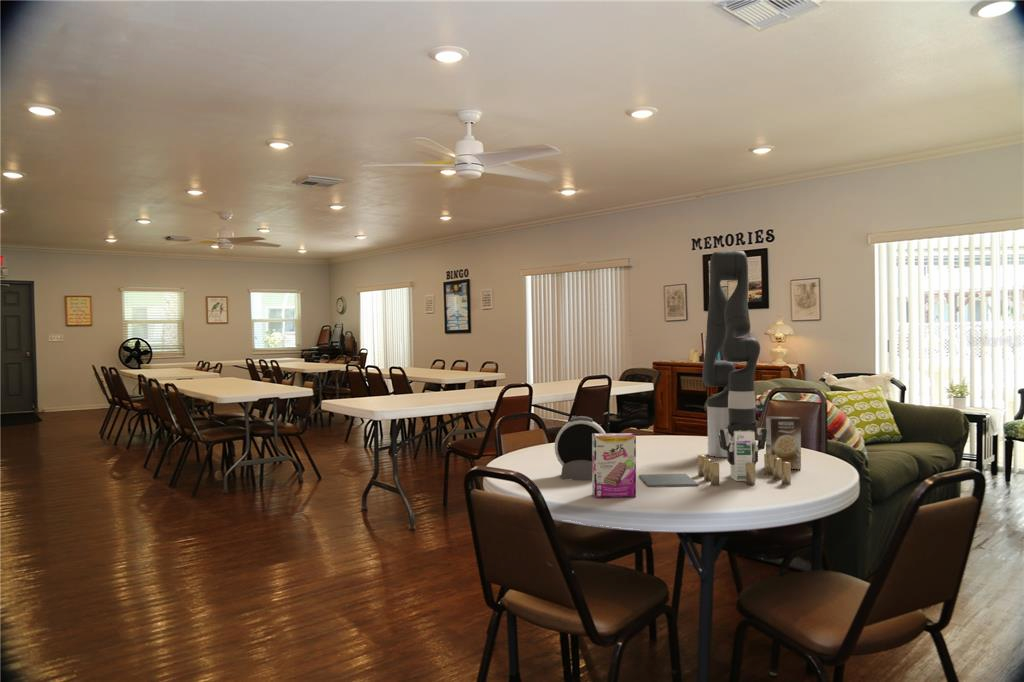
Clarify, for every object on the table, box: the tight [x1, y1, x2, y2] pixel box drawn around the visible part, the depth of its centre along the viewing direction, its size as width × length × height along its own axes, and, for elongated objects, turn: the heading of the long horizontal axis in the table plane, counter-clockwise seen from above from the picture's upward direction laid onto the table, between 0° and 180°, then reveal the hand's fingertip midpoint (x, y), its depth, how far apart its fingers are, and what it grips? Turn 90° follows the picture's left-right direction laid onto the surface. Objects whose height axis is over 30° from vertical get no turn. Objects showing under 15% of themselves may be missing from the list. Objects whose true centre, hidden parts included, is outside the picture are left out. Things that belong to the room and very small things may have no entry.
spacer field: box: [697, 453, 792, 486], centre depth 196 cm, size 15×22×6 cm
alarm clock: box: [553, 415, 607, 481], centre depth 204 cm, size 16×10×18 cm, turn 81°
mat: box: [638, 473, 699, 487], centre depth 196 cm, size 14×14×1 cm
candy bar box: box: [591, 432, 637, 499], centre depth 179 cm, size 11×5×16 cm, turn 92°
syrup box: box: [729, 430, 757, 482], centre depth 196 cm, size 6×6×14 cm
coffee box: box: [765, 415, 802, 471], centre depth 212 cm, size 9×6×16 cm
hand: (742, 463), depth 196 cm, fingers closed on syrup box, 5 cm apart
